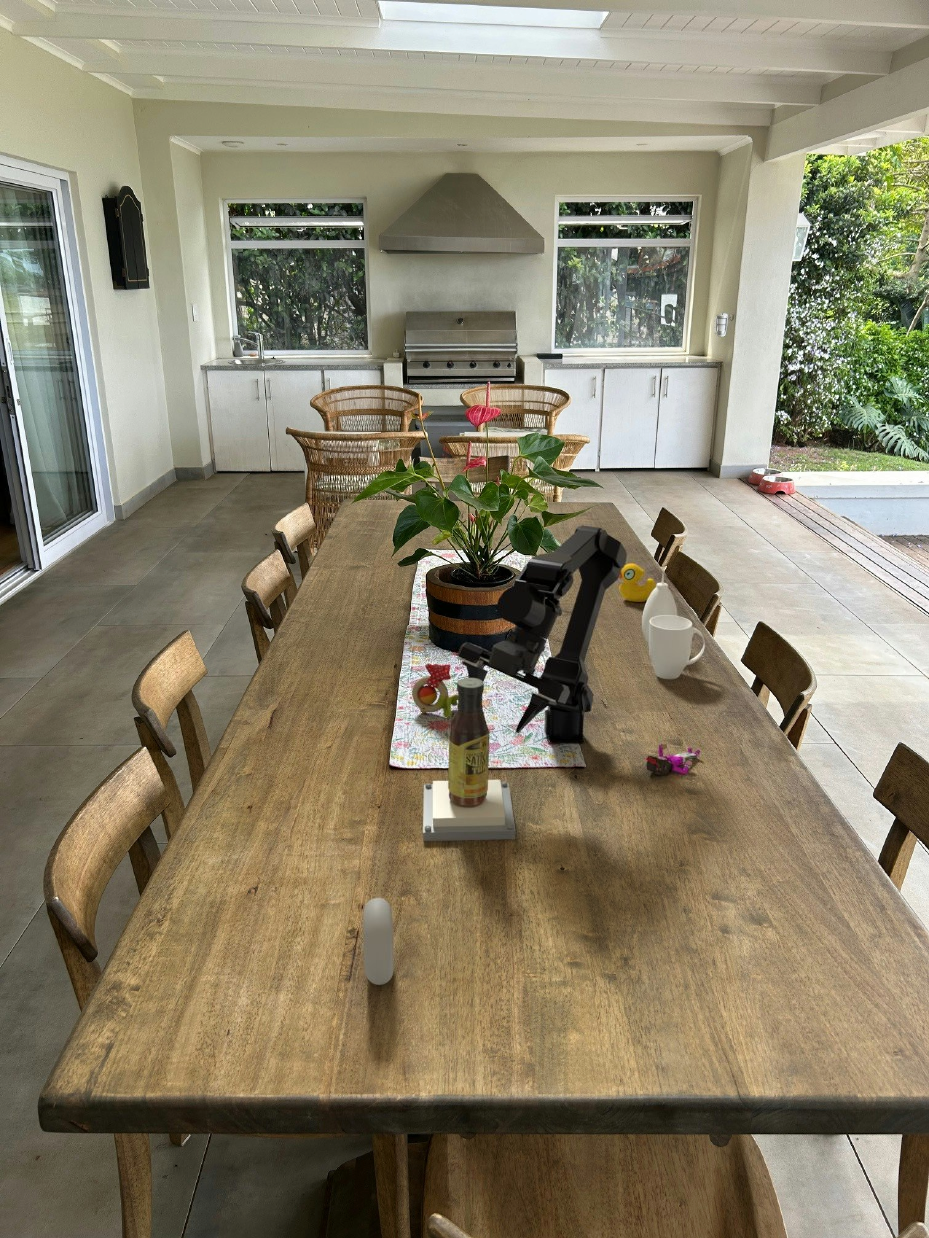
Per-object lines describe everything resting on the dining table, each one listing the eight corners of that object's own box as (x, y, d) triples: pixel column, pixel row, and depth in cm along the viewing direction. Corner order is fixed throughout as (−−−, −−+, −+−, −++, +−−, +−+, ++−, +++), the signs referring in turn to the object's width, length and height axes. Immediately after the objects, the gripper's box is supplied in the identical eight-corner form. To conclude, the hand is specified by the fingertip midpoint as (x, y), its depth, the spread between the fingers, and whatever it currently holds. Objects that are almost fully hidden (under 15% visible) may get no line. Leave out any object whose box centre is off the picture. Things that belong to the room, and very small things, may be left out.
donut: (366, 946, 117) (363, 881, 114) (394, 945, 118) (391, 880, 114) (364, 1004, 108) (361, 935, 105) (394, 1003, 108) (391, 934, 105)
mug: (649, 682, 193) (652, 628, 189) (643, 666, 201) (646, 614, 197) (705, 683, 192) (710, 629, 188) (697, 667, 200) (702, 615, 196)
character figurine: (680, 756, 166) (637, 771, 158) (685, 730, 164) (642, 744, 156) (706, 769, 161) (663, 785, 154) (711, 743, 160) (669, 757, 152)
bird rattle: (421, 730, 178) (463, 716, 175) (397, 680, 175) (439, 665, 172) (427, 716, 183) (468, 702, 181) (404, 667, 180) (445, 653, 178)
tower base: (508, 790, 153) (508, 774, 152) (515, 838, 140) (515, 822, 138) (424, 792, 152) (423, 776, 151) (423, 840, 139) (422, 824, 138)
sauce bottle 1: (469, 813, 141) (469, 696, 134) (440, 798, 145) (438, 684, 138) (497, 796, 145) (498, 682, 138) (468, 783, 149) (468, 671, 142)
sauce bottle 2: (678, 653, 207) (684, 578, 201) (643, 653, 207) (648, 578, 201) (671, 640, 214) (677, 567, 208) (637, 640, 215) (642, 567, 208)
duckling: (609, 601, 240) (611, 565, 237) (613, 595, 245) (615, 559, 241) (652, 606, 237) (655, 569, 233) (656, 600, 241) (658, 563, 238)
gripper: (465, 604, 146) (426, 694, 146) (571, 649, 139) (529, 743, 139) (487, 614, 156) (450, 698, 156) (586, 657, 149) (547, 745, 149)
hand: (492, 720), depth 150 cm, fingers open, 9 cm apart
